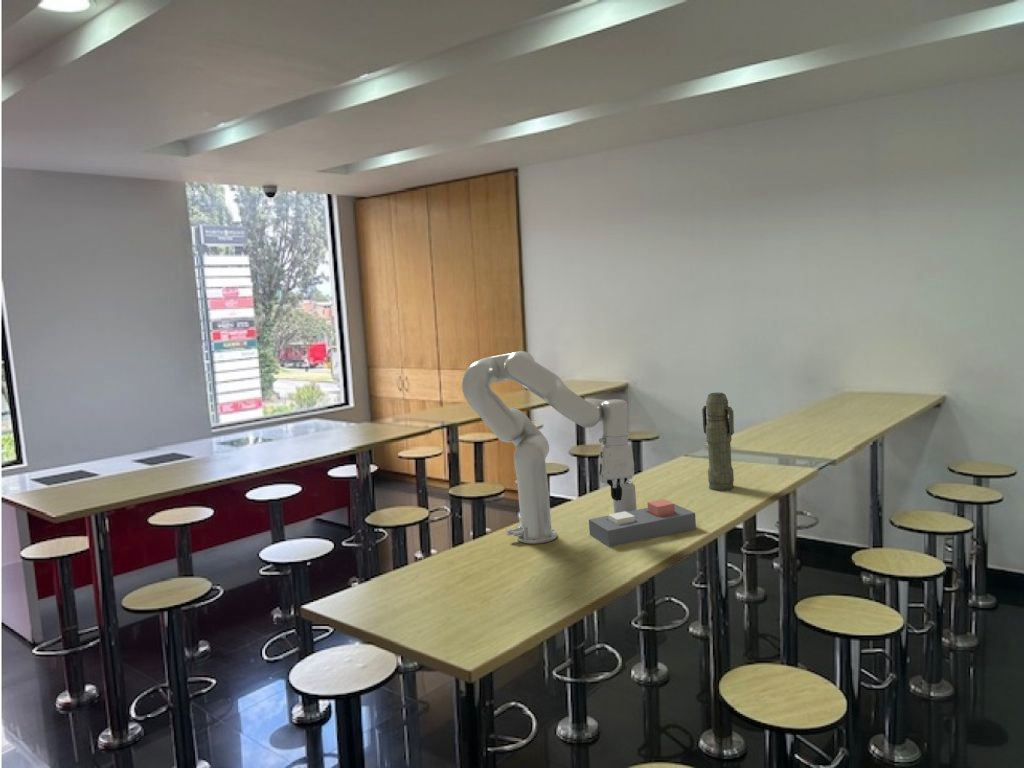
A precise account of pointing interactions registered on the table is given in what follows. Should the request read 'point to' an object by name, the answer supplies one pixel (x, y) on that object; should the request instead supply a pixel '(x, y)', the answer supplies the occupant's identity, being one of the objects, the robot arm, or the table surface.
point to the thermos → (719, 441)
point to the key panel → (641, 526)
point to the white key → (621, 518)
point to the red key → (661, 508)
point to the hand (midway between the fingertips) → (616, 499)
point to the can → (626, 498)
